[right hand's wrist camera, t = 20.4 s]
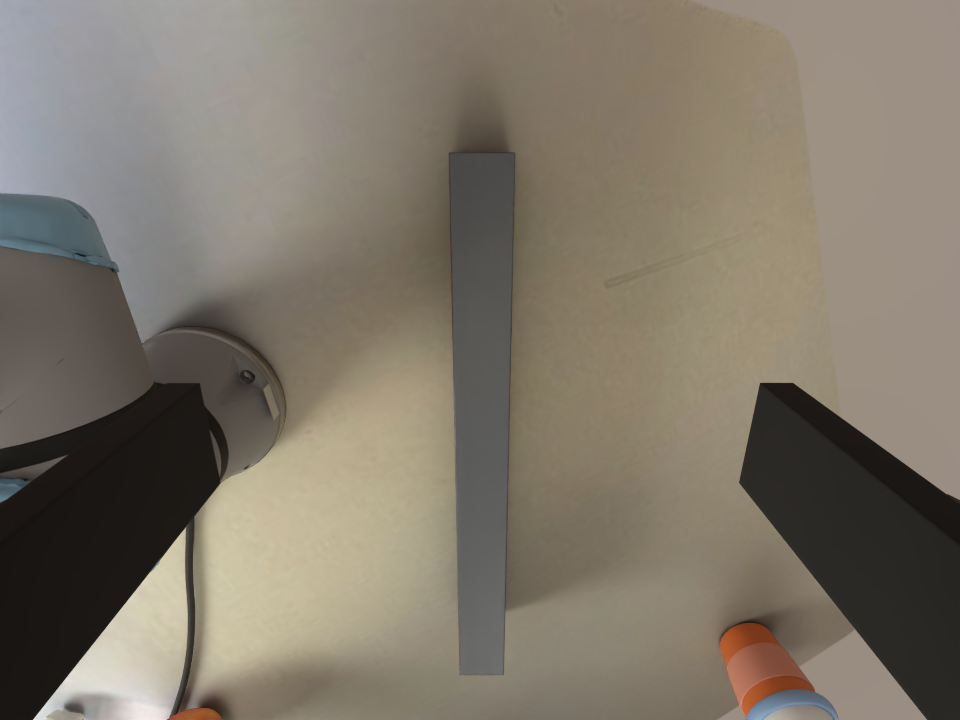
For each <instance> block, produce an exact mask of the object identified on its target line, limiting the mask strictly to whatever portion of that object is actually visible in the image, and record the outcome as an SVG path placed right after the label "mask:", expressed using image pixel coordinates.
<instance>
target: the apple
mask: <svg viewBox="0 0 960 720" xmlns="http://www.w3.org/2000/svg"><path fill="white" fill-rule="evenodd" d="M167 720H222V718H221V717H220V715H219V714H218V713H217V712H216V711H215V710H213V709H210V708H195V709H189V710H185V711H183V712H180V713H178V714H176V715H174V716H172V717H170V718H169V719H167Z"/></svg>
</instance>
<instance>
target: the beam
mask: <svg viewBox="0 0 960 720" xmlns="http://www.w3.org/2000/svg"><path fill="white" fill-rule="evenodd" d="M449 182H450V230H451V278H452V327H453V375H454V424H455V472H456V521H457V569H458V617H459V666H460V675H504V641H505V595H506V550H507V504H508V459H509V413H510V367H511V322H512V276H513V231H514V185H515V153H449Z"/></svg>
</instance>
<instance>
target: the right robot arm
mask: <svg viewBox="0 0 960 720" xmlns="http://www.w3.org/2000/svg"><path fill="white" fill-rule="evenodd" d="M117 272H119V269H118V266H117V264H116V263H115V262H113V261H111V258H110V256H109V254H108V251H107V249H106V246H105V244H104V242H103V239H102V237H101V235H100V232H99V230H98V227H97V225H96V223H95V221H94V219H93V217H92V216H91V215H90V214H89V213H88V212H87V211H86V210H85V209H84V208H82V207H81V206H79V205H77V204H76V203H74V202H71V201H69V200H66V199H62V198H57V197H51V196H40V195H24V194H3V193H0V720H33V719H34V718H35V716H36V715H37V714H38V713H39V711H40V710H41V709H42V708H43V706H44V705H45V704H46V702H47V701H48V700H49V699H50V697H51V696H52V695H53V694H54V692H55V691H56V690H57V689H58V687H59V686H60V685H61V684H62V682H63V681H64V680H65V679H66V677H67V676H68V675H69V673H70V672H71V671H72V670H73V668H74V667H75V666H76V665H77V663H78V662H79V661H80V660H81V658H82V657H83V656H84V655H85V653H86V652H87V651H88V650H89V648H90V647H91V646H92V644H93V643H94V642H95V641H96V639H97V638H98V637H99V636H100V634H101V633H102V632H103V631H104V629H105V628H106V627H107V626H108V624H109V623H110V622H111V621H112V619H113V618H114V617H115V616H116V614H117V613H118V612H119V610H120V609H121V608H122V607H123V605H124V604H125V603H126V602H127V600H128V599H129V598H130V597H131V595H132V594H133V593H134V592H135V590H136V589H137V588H138V587H139V585H140V584H141V583H142V581H143V580H144V579H145V578H146V576H147V575H148V574H149V573H150V572H151V571H152V570H153V569H154V568H155V567H156V565H158V563H159V561H160V560H161V558H162V557H163V556H164V554H165V553H166V552H167V550H168V549H169V548H170V546H171V545H172V544H173V542H174V541H175V540H176V539H177V537H178V536H179V535H180V534H181V532H182V531H183V530H184V529H185V527H186V551H185V573H186V591H187V604H188V638H187V650H186V658H185V665H184V670H183V675H182V680H181V684H180V688H179V691H178V694H177V698H176V701H175V704H174V707H173V710H172V713H171V715H170V717H172V716H174V715H176V714H178V711H179V708H180V705H181V702H182V699H183V696H184V693H185V689H186V686H187V682H188V678H189V673H190V668H191V662H192V655H193V646H194V633H195V599H194V585H193V532H194V516H195V515H196V513H197V512H198V511H199V510H200V508H201V507H202V506H203V505H204V503H205V502H206V501H207V500H208V498H209V497H210V496H211V495H212V493H213V492H214V491H215V489H216V488H217V487H218V486H219V484H220V483H221V482H223V481H224V480H225V479H227V478H229V477H230V476H233V475H236V474H238V473H241V472H243V471H245V470H247V469H248V468H250V467H252V466H253V465H255V464H256V463H258V462H259V461H260V460H261V459H262V458H264V456H265V455H266V454H267V453H268V452H269V450H270V449H271V448H272V446H273V445H274V443H275V442H276V441H277V439H278V437H279V436H280V434H281V431H282V429H283V425H284V421H285V412H286V407H285V399H284V394H283V391H282V387H281V385H280V383H279V380H278V378H277V376H276V375H275V373H274V371H273V370H272V368H271V367H270V366H269V364H268V363H267V362H266V361H265V360H264V359H263V357H262V356H261V355H260V354H258V353H257V352H256V351H255V350H254V349H253V348H251V347H250V346H249V345H247V344H246V343H244V342H243V341H241V340H239V339H237V338H236V337H234V336H231V335H229V334H227V333H224V332H221V331H218V330H214V329H210V328H204V327H181V328H175V329H171V330H168V331H165V332H162V333H160V334H158V335H156V336H154V337H152V338H151V339H149V340H147V341H145V342H144V343H141V340H140V338H139V335H138V332H137V329H136V326H135V323H134V320H133V318H132V315H131V312H130V309H129V306H128V303H127V301H126V298H125V295H124V292H123V289H122V286H121V284H120V281H119V278H118V275H117ZM739 483H740V484H741V486H742V487H743V488H744V489H745V491H746V492H747V493H748V495H749V496H750V497H751V498H752V500H753V501H754V502H755V503H756V505H757V506H758V507H759V508H760V510H761V511H762V512H763V513H764V515H765V516H766V517H767V518H768V520H769V521H770V522H771V524H772V525H773V526H774V527H775V529H776V530H777V531H778V532H779V534H780V535H781V536H782V537H783V539H784V540H785V541H786V542H787V544H788V545H789V546H790V547H791V549H792V550H793V551H794V552H795V554H796V555H797V556H798V558H799V559H800V560H801V561H802V563H803V564H804V565H805V566H806V568H807V569H808V570H809V571H810V573H811V574H812V575H813V576H814V578H815V579H816V580H817V581H818V583H819V584H820V585H821V587H822V588H823V589H824V590H825V592H826V593H827V594H828V595H829V597H830V598H831V599H832V600H833V602H834V603H835V604H836V605H837V607H838V608H839V609H840V610H841V612H842V613H843V614H844V616H845V617H846V618H847V619H848V621H849V622H850V623H851V624H852V626H853V627H854V628H855V629H856V631H857V632H858V633H859V634H860V636H861V637H862V638H863V639H864V641H865V642H866V643H867V644H868V646H869V647H870V648H871V649H872V651H873V652H874V653H875V655H876V656H877V657H878V658H879V660H880V661H881V662H882V663H883V665H884V666H885V667H886V668H887V670H888V671H889V672H890V673H891V675H892V676H893V677H894V678H895V680H896V681H897V682H898V684H899V685H900V686H901V687H902V689H903V690H904V691H905V692H906V694H907V695H908V696H909V697H910V699H911V700H912V701H913V702H914V704H915V705H916V706H917V707H918V709H919V710H920V711H921V713H922V714H923V715H924V716H925V718H926V719H927V720H960V500H958V499H956V498H954V497H952V496H950V495H948V494H945V493H944V492H942V491H941V490H940V489H938V488H937V487H936V486H934V485H933V484H931V483H930V482H929V481H927V480H926V479H925V478H923V477H922V476H920V475H919V474H918V473H916V472H915V471H914V470H912V469H911V468H909V467H908V466H907V465H905V464H904V463H903V462H901V461H900V460H898V459H897V458H896V457H894V456H893V455H892V454H890V453H889V452H887V451H886V450H885V449H883V448H882V447H880V446H879V445H878V444H876V443H875V442H874V441H872V440H871V439H869V438H868V437H867V436H865V435H864V434H863V433H861V432H860V431H858V430H857V429H856V428H854V427H853V426H851V425H850V424H849V423H847V422H846V421H845V420H843V419H842V418H840V417H839V416H838V415H836V414H835V413H834V412H832V411H831V410H829V409H828V408H827V407H825V406H824V405H823V404H821V403H820V402H818V401H817V400H816V399H814V398H813V397H812V396H810V395H809V394H807V393H806V392H805V391H803V390H802V389H800V388H799V387H798V386H796V385H795V384H794V383H760V386H759V391H758V396H757V400H756V405H755V410H754V415H753V419H752V424H751V429H750V434H749V438H748V443H747V448H746V453H745V457H744V462H743V467H742V472H741V476H740V481H739Z"/></svg>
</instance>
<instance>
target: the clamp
mask: <svg viewBox="0 0 960 720" xmlns="http://www.w3.org/2000/svg"><path fill="white" fill-rule="evenodd" d="M83 718H84V714H82V713H75V712H69V711H62V710H57V711H55V712H53V713H51V714H50V715H48V716H47V717H46V718H45V720H83Z"/></svg>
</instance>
